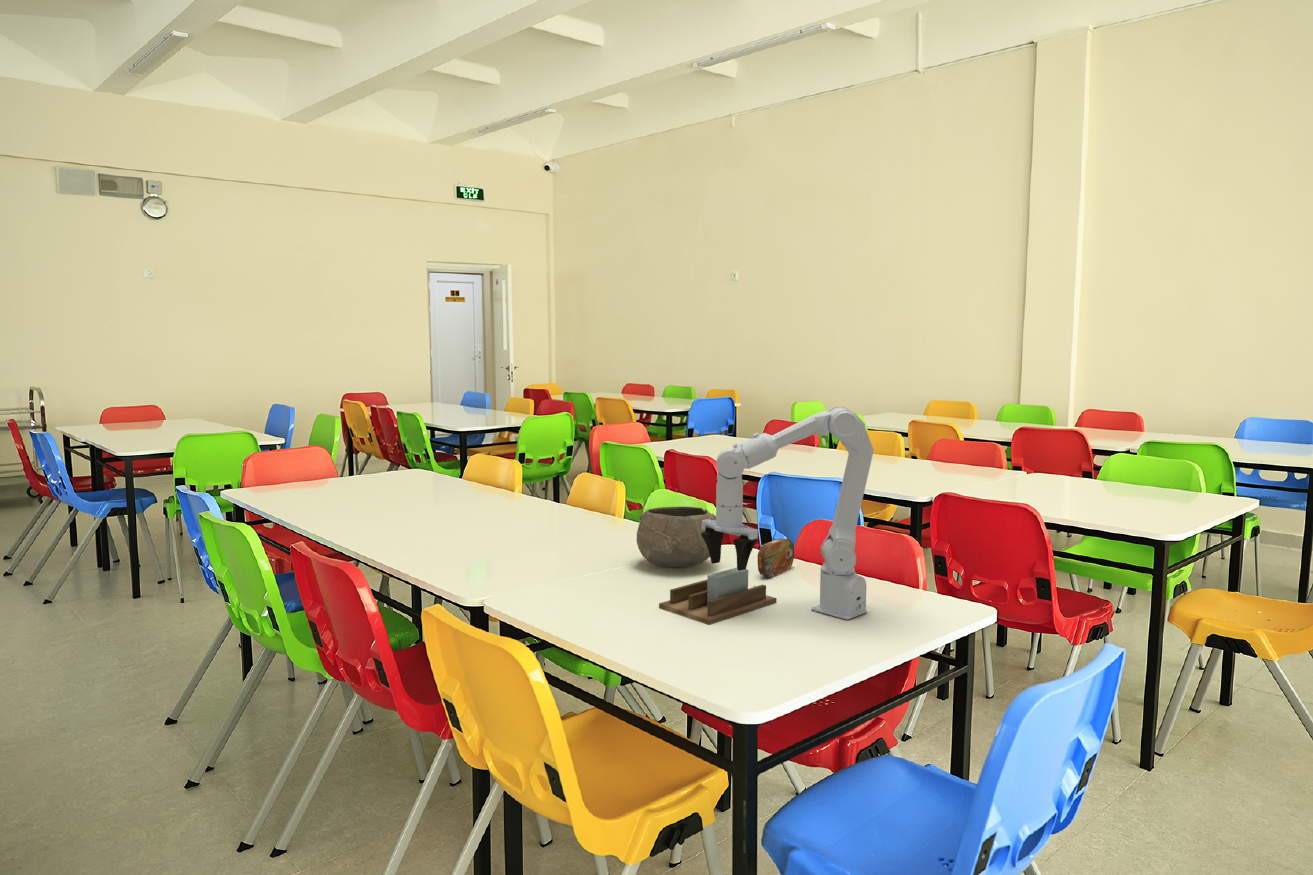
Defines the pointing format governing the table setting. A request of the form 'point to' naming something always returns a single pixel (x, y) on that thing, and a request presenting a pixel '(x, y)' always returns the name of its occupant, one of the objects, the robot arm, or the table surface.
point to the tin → (775, 557)
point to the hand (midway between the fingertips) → (728, 566)
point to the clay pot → (673, 536)
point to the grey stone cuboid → (726, 583)
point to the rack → (714, 602)
